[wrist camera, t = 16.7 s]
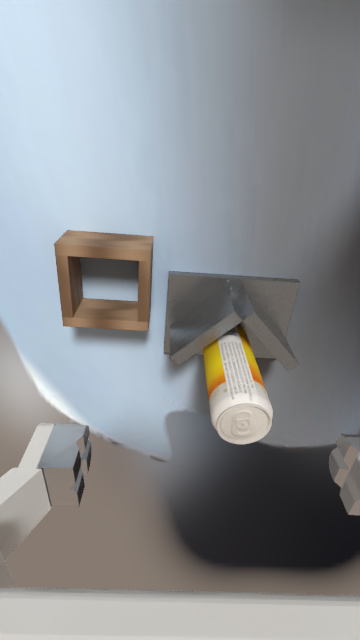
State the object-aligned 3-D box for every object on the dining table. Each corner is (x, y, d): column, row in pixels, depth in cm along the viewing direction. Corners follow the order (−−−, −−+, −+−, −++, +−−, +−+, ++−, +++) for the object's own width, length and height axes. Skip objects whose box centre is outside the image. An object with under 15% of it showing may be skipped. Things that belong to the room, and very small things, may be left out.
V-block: (297, 279, 43) (321, 310, 36) (277, 354, 48) (294, 393, 41) (169, 271, 42) (168, 300, 35) (164, 348, 47) (162, 387, 41)
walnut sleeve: (153, 236, 40) (150, 250, 35) (150, 310, 44) (147, 331, 40) (67, 230, 39) (54, 243, 35) (74, 306, 44) (63, 326, 40)
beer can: (204, 360, 47) (215, 450, 34) (198, 323, 44) (208, 406, 31) (248, 354, 47) (276, 443, 34) (245, 316, 44) (275, 398, 31)
